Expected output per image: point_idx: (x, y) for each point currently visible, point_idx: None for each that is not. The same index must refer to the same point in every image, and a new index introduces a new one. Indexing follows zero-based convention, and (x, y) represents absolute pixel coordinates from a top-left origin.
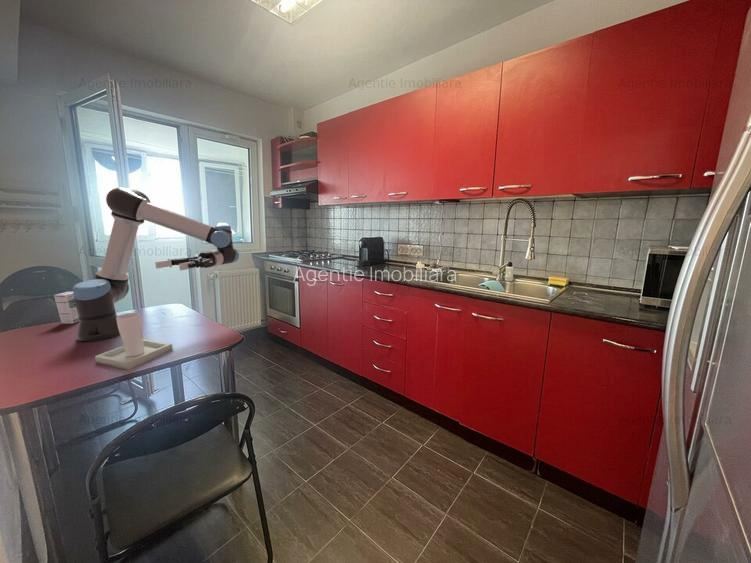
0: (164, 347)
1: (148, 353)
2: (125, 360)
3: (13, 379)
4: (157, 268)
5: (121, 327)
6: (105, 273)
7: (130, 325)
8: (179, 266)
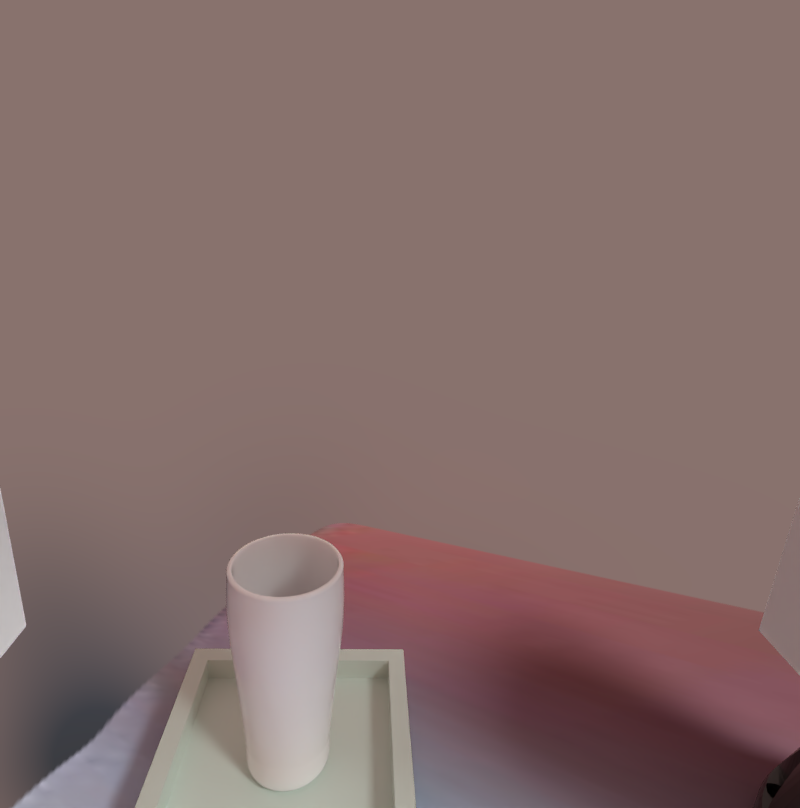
0: None
1: (167, 732)
2: None
3: (506, 564)
4: (762, 632)
5: (279, 576)
6: None
7: (241, 586)
8: (4, 543)
